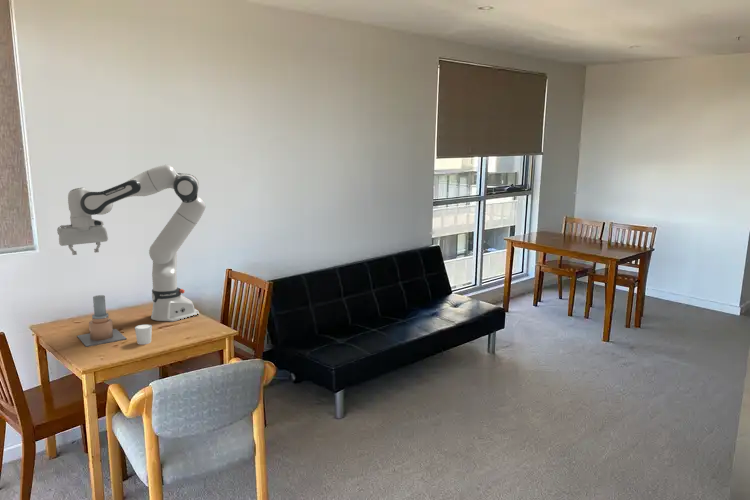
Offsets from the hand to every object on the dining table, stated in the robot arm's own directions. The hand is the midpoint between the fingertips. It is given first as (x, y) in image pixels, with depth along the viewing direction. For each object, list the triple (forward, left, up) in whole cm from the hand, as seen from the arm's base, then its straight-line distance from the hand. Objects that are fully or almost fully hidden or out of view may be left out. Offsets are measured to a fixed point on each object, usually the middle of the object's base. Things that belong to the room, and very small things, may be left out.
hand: (85, 253), depth 262 cm
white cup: (-11, +41, -33) cm, 54 cm away
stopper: (+1, +25, -24) cm, 35 cm away
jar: (+2, +25, -33) cm, 42 cm away
